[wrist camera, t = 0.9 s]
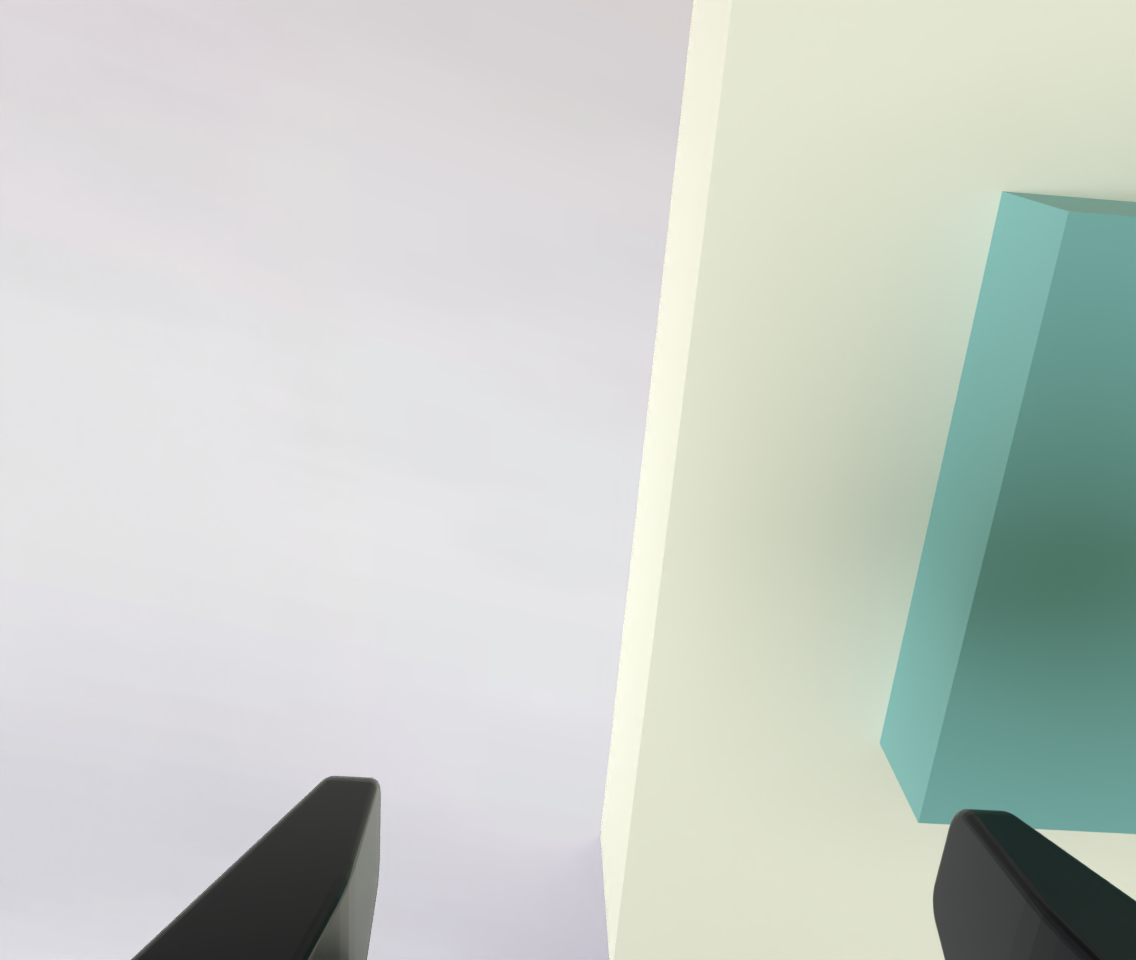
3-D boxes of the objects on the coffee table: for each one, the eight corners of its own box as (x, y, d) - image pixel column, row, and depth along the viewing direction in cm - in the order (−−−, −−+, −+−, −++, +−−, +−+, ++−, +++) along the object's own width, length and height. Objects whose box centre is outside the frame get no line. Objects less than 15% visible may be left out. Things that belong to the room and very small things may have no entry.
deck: (1132, 860, 24) (1240, 1008, 20) (600, 833, 23) (610, 981, 20) (1482, -162, 17) (1751, -223, 13) (719, -237, 16) (772, -324, 12)
